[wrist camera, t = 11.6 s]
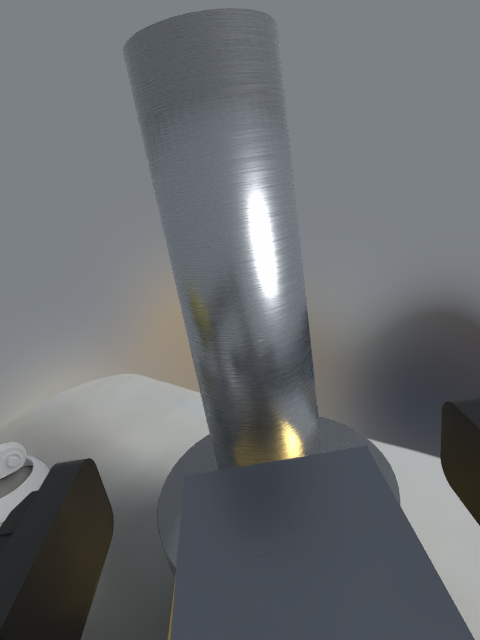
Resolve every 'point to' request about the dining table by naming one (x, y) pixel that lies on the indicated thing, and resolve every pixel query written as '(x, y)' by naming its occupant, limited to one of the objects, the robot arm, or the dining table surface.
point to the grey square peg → (304, 557)
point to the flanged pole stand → (232, 243)
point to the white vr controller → (9, 460)
